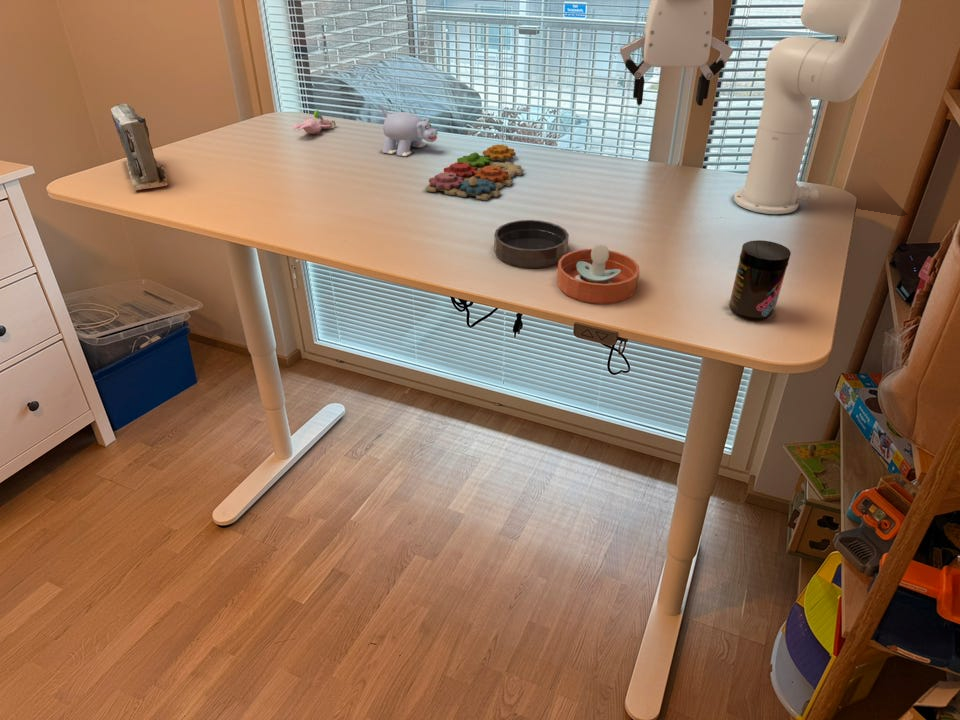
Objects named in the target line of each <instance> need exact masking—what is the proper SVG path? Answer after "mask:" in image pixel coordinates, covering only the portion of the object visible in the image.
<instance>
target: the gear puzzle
mask: <svg viewBox="0 0 960 720" xmlns="http://www.w3.org/2000/svg"><path fill="white" fill-rule="evenodd" d="M516 156H517V153H516V152H515V149H514V148H509V147H508V145H504V144H494V145H492V146H489V147H487V148H486V149H485V150H483V151H482V154H479V153H478V152H477V151H476V152H475V151H474V152H472V153H470V154H469V155H463V156H462V157H458V158H457V159H456V162H454V163H451V164H450V165H449V166H447V167H444V168H443V172H439V173H437V174H435V175H434V177H431V178H428V185H426V186H425V190H426V192H431V193H437V192H438V191H439V192H444V195H448V196H457V197H462V198H467V197H468V196H471V197H475V199H477V200H481V201H487V200H489V199H490V198H492V197H494V198H498V197H499V196H500V195H501V190H499V189H502V188H503V187H504V186H506V187H511V185H512V184H513V178H514V177H515V176H521V175H522V174H524V169H522V165H519V164H515V163H514V162H511V161H505V160H512V157H516ZM496 160H498V161H496ZM493 161H494V162H493ZM499 161H501V162H499ZM502 161H505V162H502Z"/></svg>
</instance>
